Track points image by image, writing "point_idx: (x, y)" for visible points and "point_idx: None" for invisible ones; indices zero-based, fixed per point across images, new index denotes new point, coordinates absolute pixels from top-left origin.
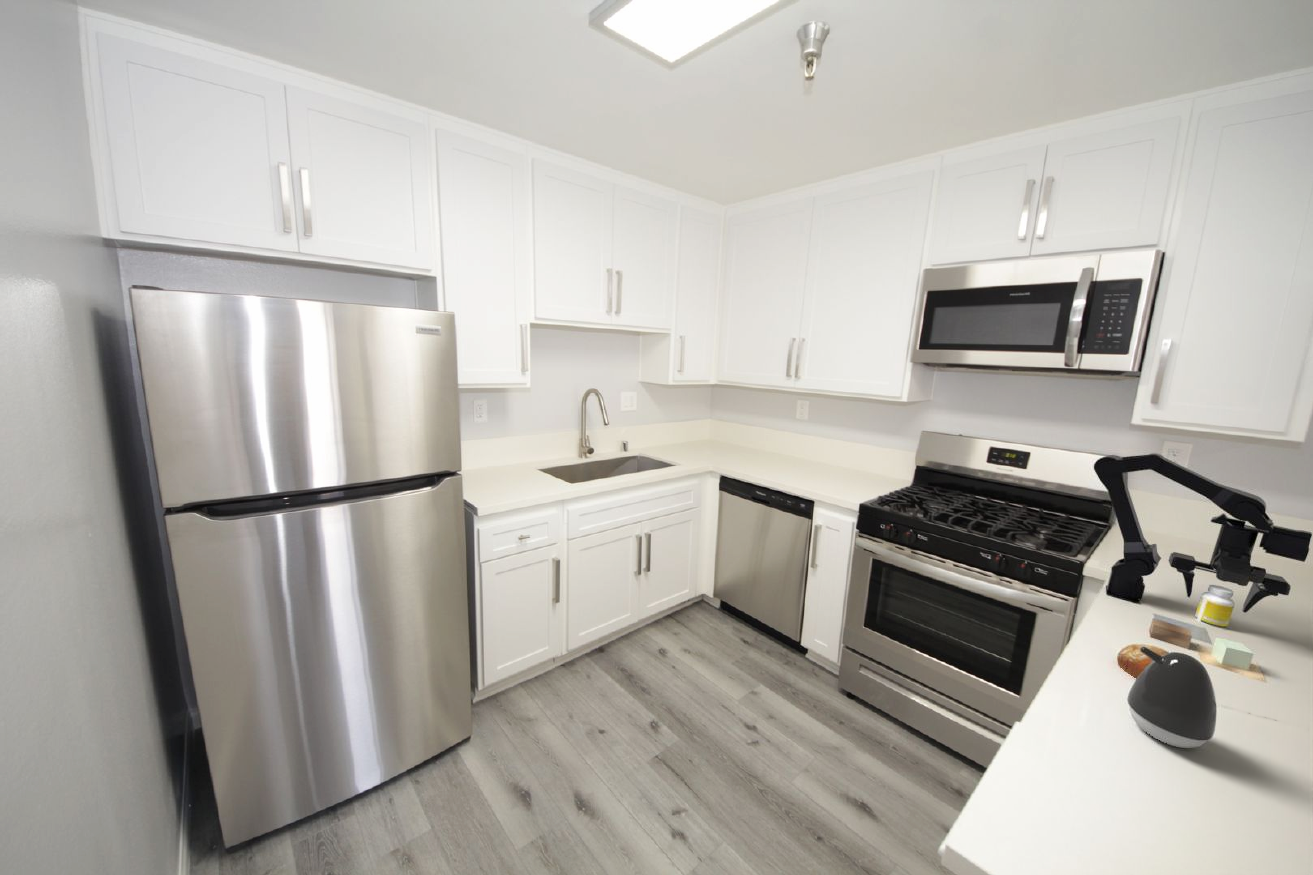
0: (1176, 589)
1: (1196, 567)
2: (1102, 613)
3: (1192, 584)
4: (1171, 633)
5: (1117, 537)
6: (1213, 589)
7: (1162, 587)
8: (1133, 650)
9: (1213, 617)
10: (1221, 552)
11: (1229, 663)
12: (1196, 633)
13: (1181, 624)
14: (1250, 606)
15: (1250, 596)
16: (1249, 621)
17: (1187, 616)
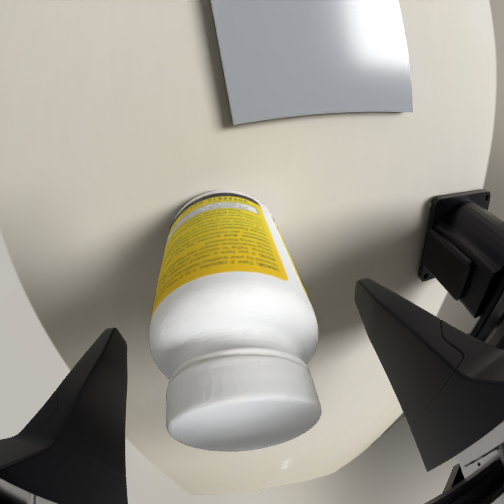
0: None
1: (482, 482)
2: (484, 6)
3: (423, 341)
4: None
5: (348, 458)
6: (296, 386)
7: (332, 391)
8: None
9: (219, 213)
10: None
11: None
12: (263, 5)
13: (323, 67)
14: (82, 361)
15: (92, 431)
16: (154, 374)
17: (296, 242)
